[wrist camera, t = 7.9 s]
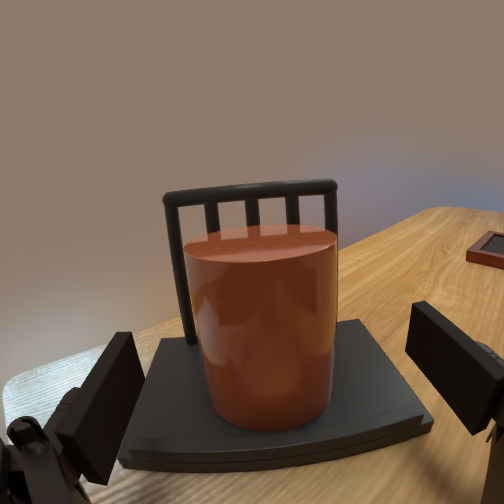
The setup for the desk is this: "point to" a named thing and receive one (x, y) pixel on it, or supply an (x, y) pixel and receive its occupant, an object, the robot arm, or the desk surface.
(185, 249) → the cylinder
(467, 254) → the picture frame
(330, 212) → the slatted back chair
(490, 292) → the desk surface
